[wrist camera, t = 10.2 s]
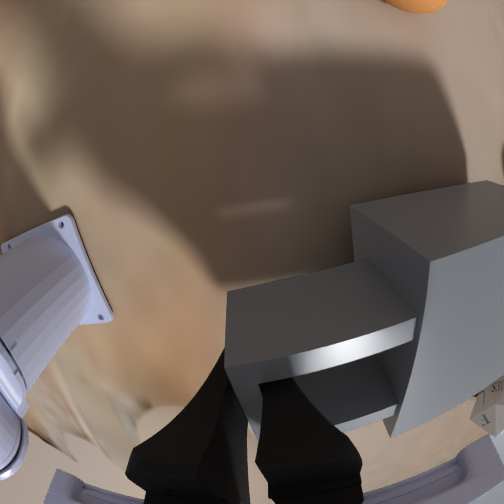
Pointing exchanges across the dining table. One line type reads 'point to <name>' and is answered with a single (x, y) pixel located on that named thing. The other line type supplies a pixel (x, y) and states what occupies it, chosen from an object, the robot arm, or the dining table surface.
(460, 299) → the grey stepped block
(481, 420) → the die
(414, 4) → the egg
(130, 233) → the dining table surface
